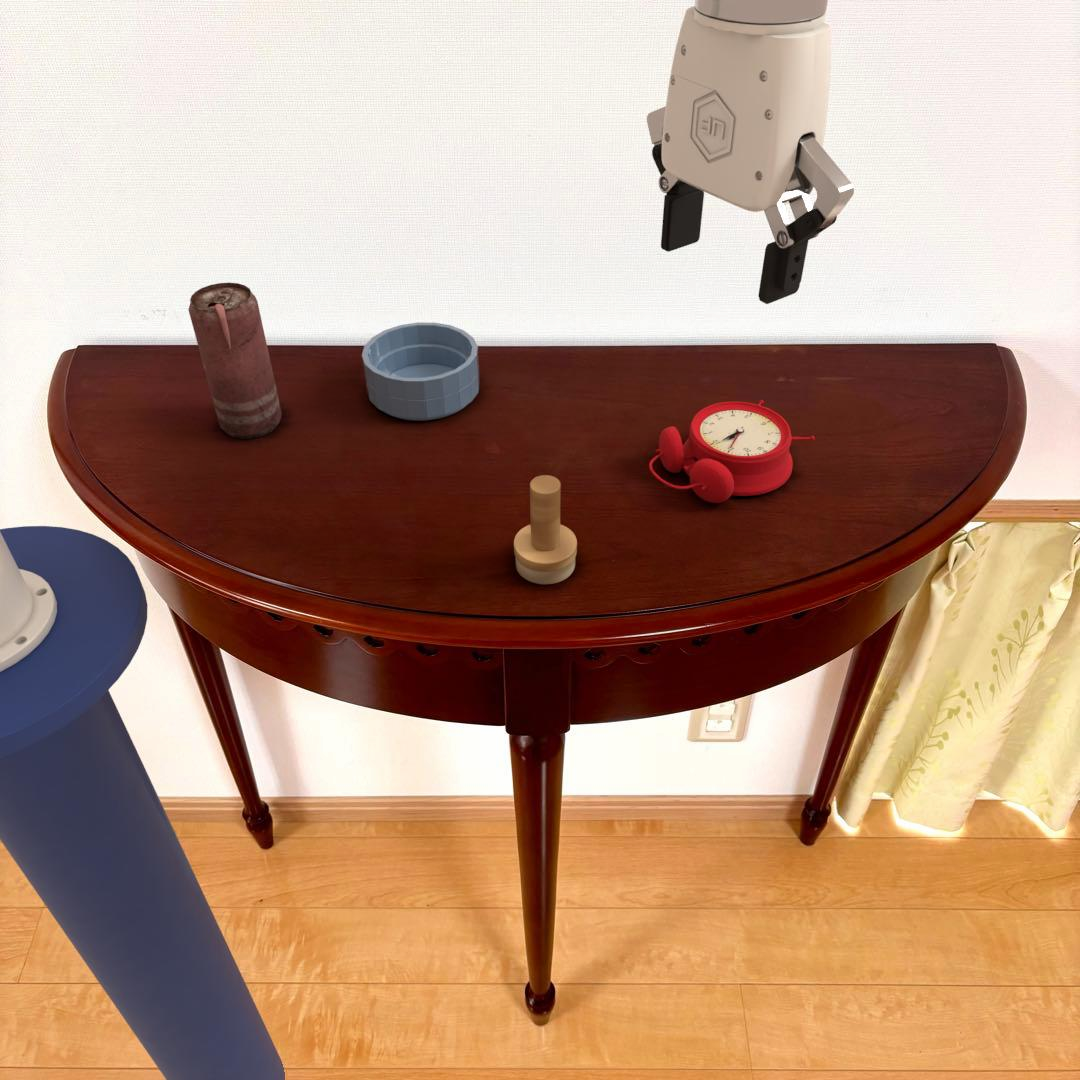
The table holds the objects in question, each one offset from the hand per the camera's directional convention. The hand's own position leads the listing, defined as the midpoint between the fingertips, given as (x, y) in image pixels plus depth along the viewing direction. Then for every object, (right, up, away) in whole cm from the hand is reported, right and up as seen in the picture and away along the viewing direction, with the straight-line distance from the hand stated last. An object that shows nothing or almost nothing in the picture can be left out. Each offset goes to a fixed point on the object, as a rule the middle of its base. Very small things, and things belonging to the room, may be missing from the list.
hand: (726, 270), depth 66 cm
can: (-42, -7, +30) cm, 52 cm away
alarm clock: (+4, -12, +24) cm, 27 cm away
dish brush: (-12, -21, +14) cm, 28 cm away
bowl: (-25, -3, +34) cm, 43 cm away
